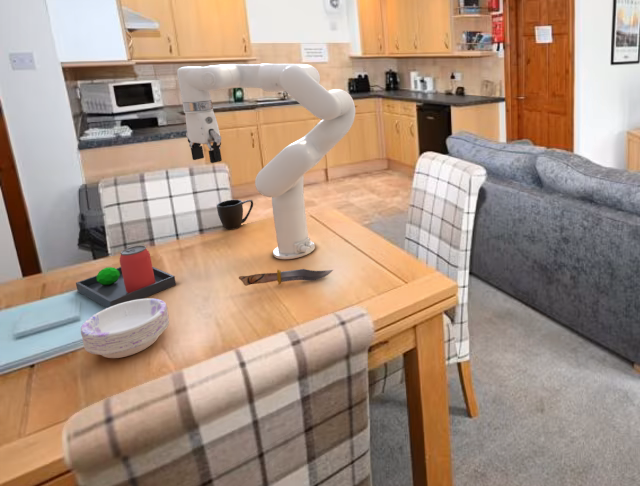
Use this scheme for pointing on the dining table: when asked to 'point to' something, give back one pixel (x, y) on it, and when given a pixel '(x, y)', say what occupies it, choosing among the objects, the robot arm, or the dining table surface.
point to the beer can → (136, 268)
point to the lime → (108, 276)
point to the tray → (122, 289)
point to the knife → (284, 276)
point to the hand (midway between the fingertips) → (207, 160)
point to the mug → (232, 213)
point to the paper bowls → (125, 328)
